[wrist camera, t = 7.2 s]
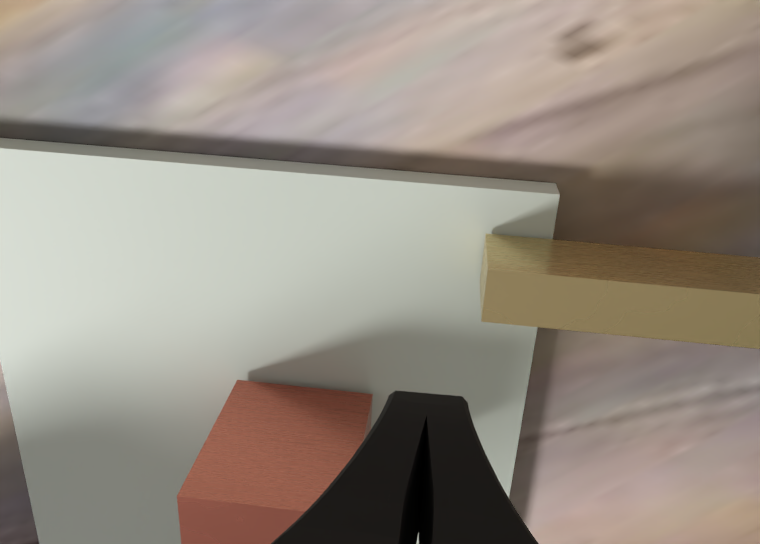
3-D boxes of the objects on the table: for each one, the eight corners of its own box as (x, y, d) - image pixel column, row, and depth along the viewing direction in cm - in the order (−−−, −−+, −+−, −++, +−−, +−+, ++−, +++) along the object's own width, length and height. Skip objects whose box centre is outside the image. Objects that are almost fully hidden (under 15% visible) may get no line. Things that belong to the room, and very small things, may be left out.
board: (82, 674, 32) (71, 695, 31) (-25, 135, 22) (-46, 144, 21) (466, 728, 31) (466, 752, 30) (555, 183, 20) (560, 194, 19)
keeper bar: (479, 281, 21) (481, 321, 18) (485, 233, 20) (487, 269, 18) (765, 308, 20) (801, 353, 18) (781, 259, 19) (821, 299, 17)
